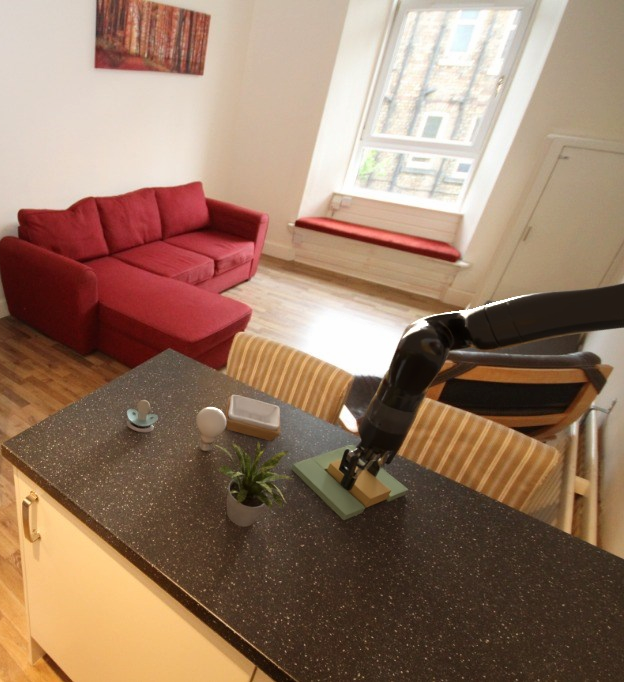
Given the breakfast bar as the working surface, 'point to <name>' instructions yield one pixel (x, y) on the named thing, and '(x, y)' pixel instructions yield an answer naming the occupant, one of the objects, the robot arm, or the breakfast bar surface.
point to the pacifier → (141, 417)
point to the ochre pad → (362, 485)
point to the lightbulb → (210, 426)
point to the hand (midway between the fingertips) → (356, 482)
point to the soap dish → (252, 417)
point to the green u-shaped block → (332, 491)
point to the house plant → (251, 486)
